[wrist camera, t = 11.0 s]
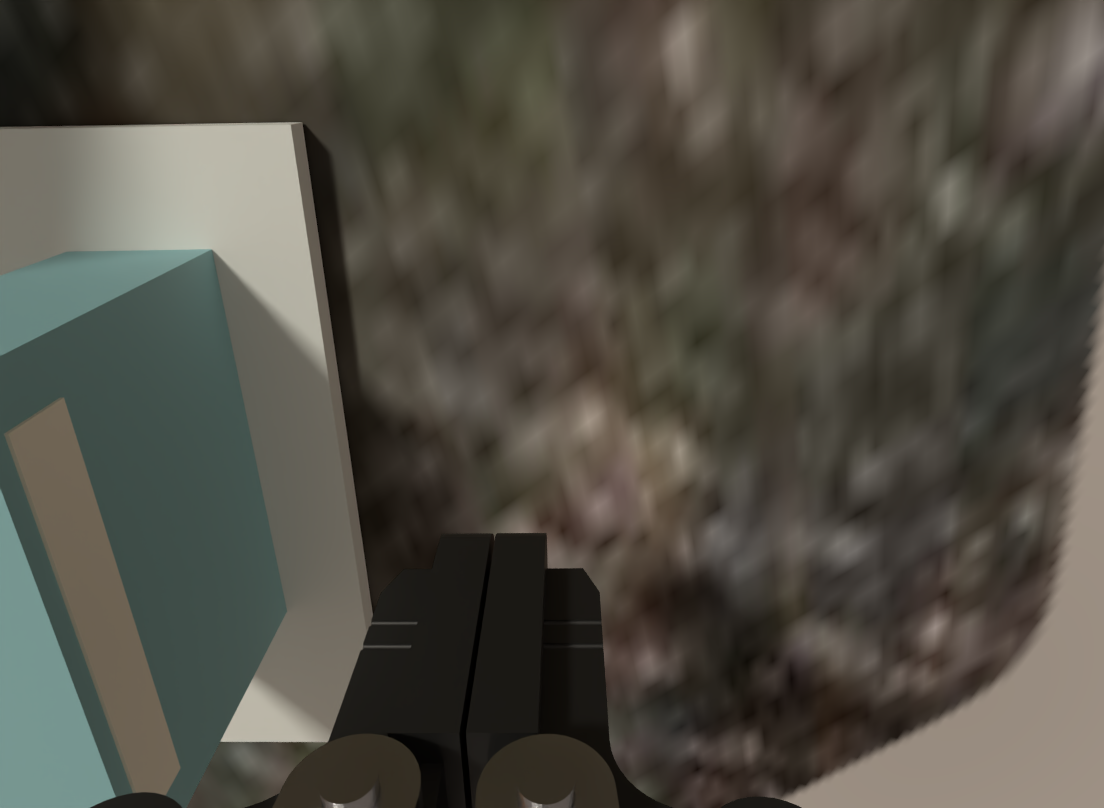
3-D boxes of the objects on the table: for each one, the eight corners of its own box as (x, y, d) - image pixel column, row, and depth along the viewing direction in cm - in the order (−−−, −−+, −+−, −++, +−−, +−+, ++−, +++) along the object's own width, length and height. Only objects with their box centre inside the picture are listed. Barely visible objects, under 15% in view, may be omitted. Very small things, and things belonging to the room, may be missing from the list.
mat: (-432, 133, 13) (-476, 136, 12) (302, 122, 13) (290, 124, 12) (-124, 721, 19) (-145, 741, 18) (388, 722, 18) (382, 741, 18)
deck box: (63, 251, 13) (-293, 380, 8) (214, 249, 13) (-37, 376, 8) (168, 611, 16) (-30, 882, 11) (289, 610, 16) (151, 883, 11)
